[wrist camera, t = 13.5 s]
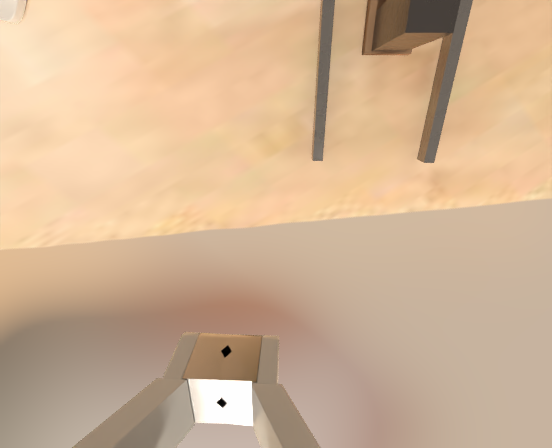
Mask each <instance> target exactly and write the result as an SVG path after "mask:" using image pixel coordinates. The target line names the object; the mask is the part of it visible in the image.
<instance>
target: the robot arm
mask: <svg viewBox="0 0 552 448" xmlns="http://www.w3.org/2000/svg"><path fill="white" fill-rule="evenodd" d="M26 2H27V0H0V21H2V22H7V23H11V24H17V23H19V22H20V21H21V20H22V18H23V15H24V11H25V7H26ZM278 367H279V336H265V335H263V336H262V335H235V334H234V335H233V334H232V335H228V334H227V335H226V334H213V333H194V332H185V333H184V334H183V335H182V336H181V338H180V341H179V343H178V345H177V347H176V349H175V351H174V354H173V356H172V358H171V360H170V362H169V365H168V367H167V369H166V371H165V373H164V376H163V378H157V379H156V380H154V381H153V382H152V383H151V384H149V385H148V386H147V387H146V388H145V389H143V390H142V391H141V392H140V393H138V394H137V395H136V396H135V397H134V398H132V399H131V400H130V401H129V402H127V403H126V404H125V405H124V406H122V407H121V408H120V409H119V410H118V411H116V412H115V413H114V414H113V415H112V416H110V417H109V418H108V419H106V420H105V421H104V422H103V423H102V424H100V425H99V426H98V427H97V428H96V429H94V430H93V431H92V432H90V433H89V434H88V435H87V436H86V437H84V438H83V439H82V440H81V441H79V442H78V443H77V444H76V445H75V446H74V447H72V448H176V447H177V446H178V445H179V444H180V443H181V441H182V440H183V439H184V438H185V436H186V435H187V434H188V433H189V431H190V430H191V429H192V428H193V426H194V425H195V424H194V423H227V424H238V425H249V426H250V425H251V426H253V429H254V431H255V434H256V436H257V439H258V442H259V444H260V447H261V448H320V446H319V444H318V443H317V441H316V439H315V438H314V436H313V434H312V433H311V431H310V430H309V428H308V427H307V425H306V423H305V422H304V420H303V418H302V416H301V415H300V413H299V411H298V410H297V408H296V407H295V405H294V403H293V402H292V400H291V398H290V397H289V395H288V393H287V392H286V390H285V388H284V387H283V385H282V384H278Z"/></svg>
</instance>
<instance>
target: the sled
mask: <svg viewBox="0 0 552 448" xmlns="http://www.w3.org/2000/svg"><path fill="white" fill-rule="evenodd" d="M460 1H461V0H368V6H367V14H366V23H365V32H364V40H363V49H362V55H409V54H411V52H412V49H413V48H415V47H418V46H421V45H423V44H426V43H428V42H431V41H434V40H436V39H439V38H441V37H444V36H447V35H449V34H452V33H454V28H455V24H456V19H457V15H458V10H459V6H460Z"/></svg>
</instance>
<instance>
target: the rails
mask: <svg viewBox="0 0 552 448" xmlns="http://www.w3.org/2000/svg"><path fill="white" fill-rule="evenodd" d="M472 1H473V0H461V1H460V6H459V10H458V15H457V19H456V24H455V28H454V33H452V34H449V35H447V36H444V37H443V41H442V46H441V51H440V56H439V60H438V65H437V70H436V74H435V79H434V84H433V88H432V93H431V98H430V102H429V107H428V112H427V116H426V121H425V126H424V131H423V135H422V140H421V145H420V149H419V154H418V160H420V161H422V162H424V163H434V161H435V156H436V152H437V148H438V144H439V140H440V135H441V131H442V127H443V123H444V119H445V114H446V110H447V106H448V102H449V98H450V94H451V89H452V85H453V81H454V77H455V73H456V68H457V64H458V60H459V56H460V52H461V47H462V43H463V39H464V35H465V31H466V26H467V22H468V18H469V14H470V10H471V5H472ZM334 3H335V0H321V11H320V28H319V44H318V61H317V78H316V95H315V111H314V128H313V145H312V160H313V161H323V148H324V135H325V121H326V108H327V95H328V82H329V69H330V55H331V42H332V29H333V16H334Z"/></svg>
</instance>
